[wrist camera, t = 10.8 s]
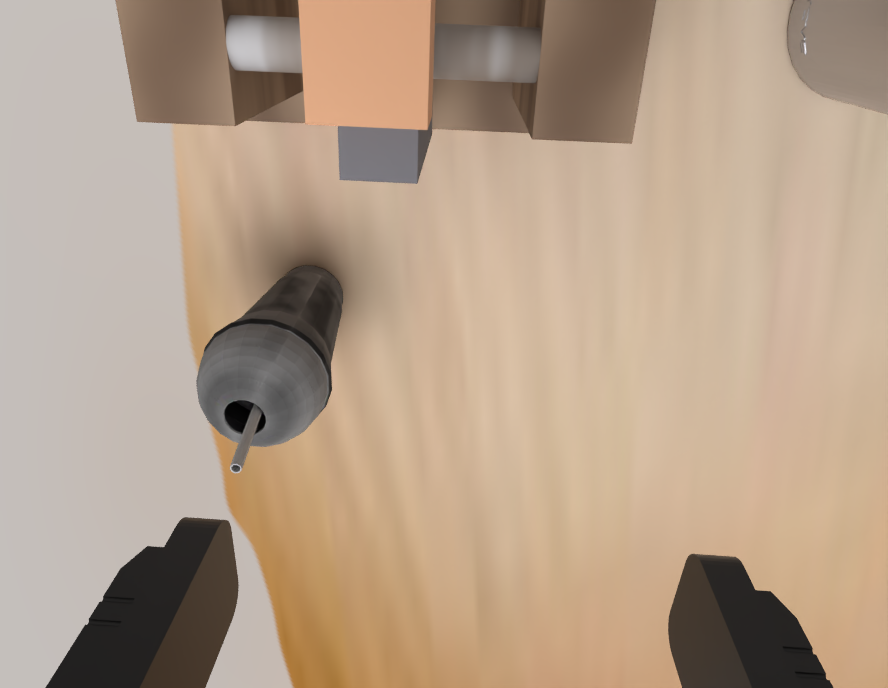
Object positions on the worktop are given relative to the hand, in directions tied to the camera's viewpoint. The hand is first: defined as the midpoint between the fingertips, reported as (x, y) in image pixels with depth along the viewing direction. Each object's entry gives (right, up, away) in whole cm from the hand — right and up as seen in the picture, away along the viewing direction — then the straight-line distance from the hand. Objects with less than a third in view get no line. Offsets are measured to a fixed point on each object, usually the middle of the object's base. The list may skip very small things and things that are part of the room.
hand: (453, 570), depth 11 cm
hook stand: (-2, +22, +26) cm, 35 cm away
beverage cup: (-10, +8, +35) cm, 37 cm away
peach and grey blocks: (-2, +19, +21) cm, 29 cm away
